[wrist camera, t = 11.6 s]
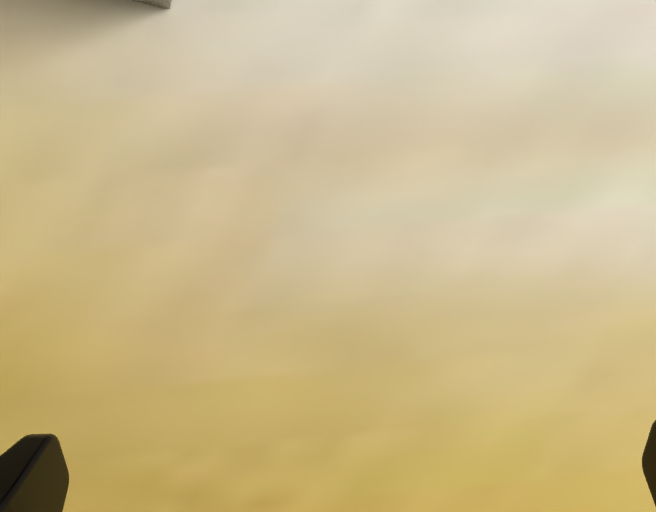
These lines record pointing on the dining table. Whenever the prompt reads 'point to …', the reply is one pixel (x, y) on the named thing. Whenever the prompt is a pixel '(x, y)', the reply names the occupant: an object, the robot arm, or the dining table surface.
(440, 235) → the dining table surface
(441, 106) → the dining table surface
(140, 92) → the dining table surface
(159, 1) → the track
